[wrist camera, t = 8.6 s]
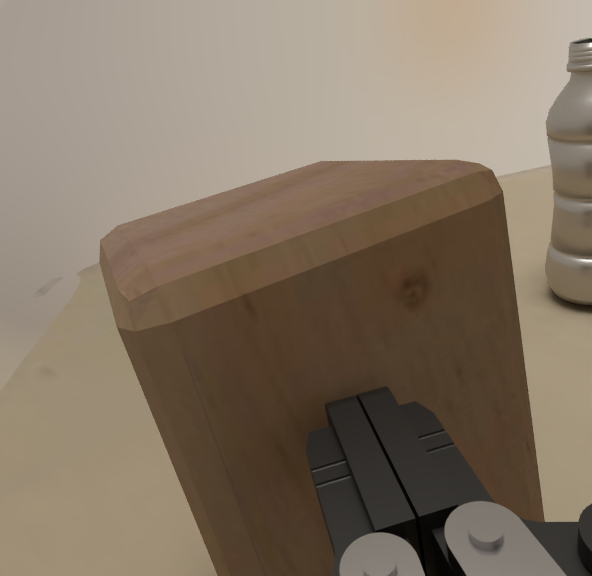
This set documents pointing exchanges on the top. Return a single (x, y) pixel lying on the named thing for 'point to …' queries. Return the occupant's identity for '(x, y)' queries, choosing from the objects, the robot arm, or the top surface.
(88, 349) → the top surface
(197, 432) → the wooden block
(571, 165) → the plastic bottle
